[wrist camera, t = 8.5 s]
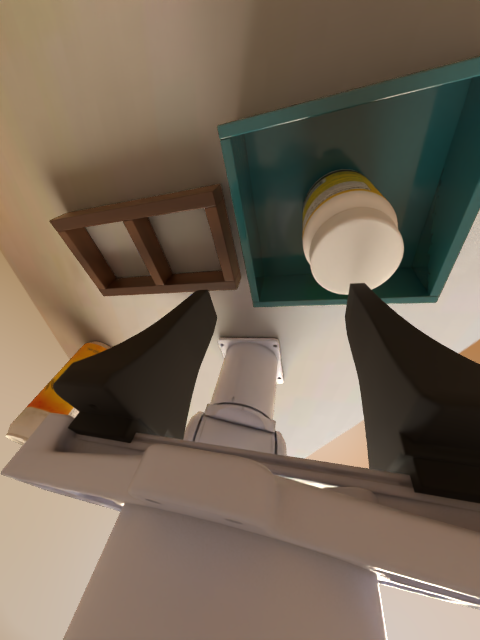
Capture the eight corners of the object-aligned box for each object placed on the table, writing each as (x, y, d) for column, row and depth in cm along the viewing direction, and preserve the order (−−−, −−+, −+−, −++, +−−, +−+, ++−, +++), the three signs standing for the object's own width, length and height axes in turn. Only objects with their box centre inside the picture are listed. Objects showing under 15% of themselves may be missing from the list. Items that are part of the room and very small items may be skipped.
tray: (414, 269, 19) (436, 302, 16) (260, 279, 23) (253, 307, 20) (488, 53, 11) (561, 33, 8) (234, 121, 15) (216, 125, 12)
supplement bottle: (368, 232, 17) (402, 298, 11) (305, 242, 19) (305, 305, 13) (376, 158, 14) (428, 195, 8) (299, 176, 16) (297, 220, 10)
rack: (241, 277, 23) (237, 289, 22) (114, 285, 28) (103, 296, 26) (220, 183, 18) (212, 191, 16) (66, 212, 22) (48, 220, 21)
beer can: (79, 336, 37) (-11, 429, 27) (113, 342, 36) (34, 441, 26) (95, 358, 41) (23, 446, 31) (125, 364, 41) (62, 457, 30)
